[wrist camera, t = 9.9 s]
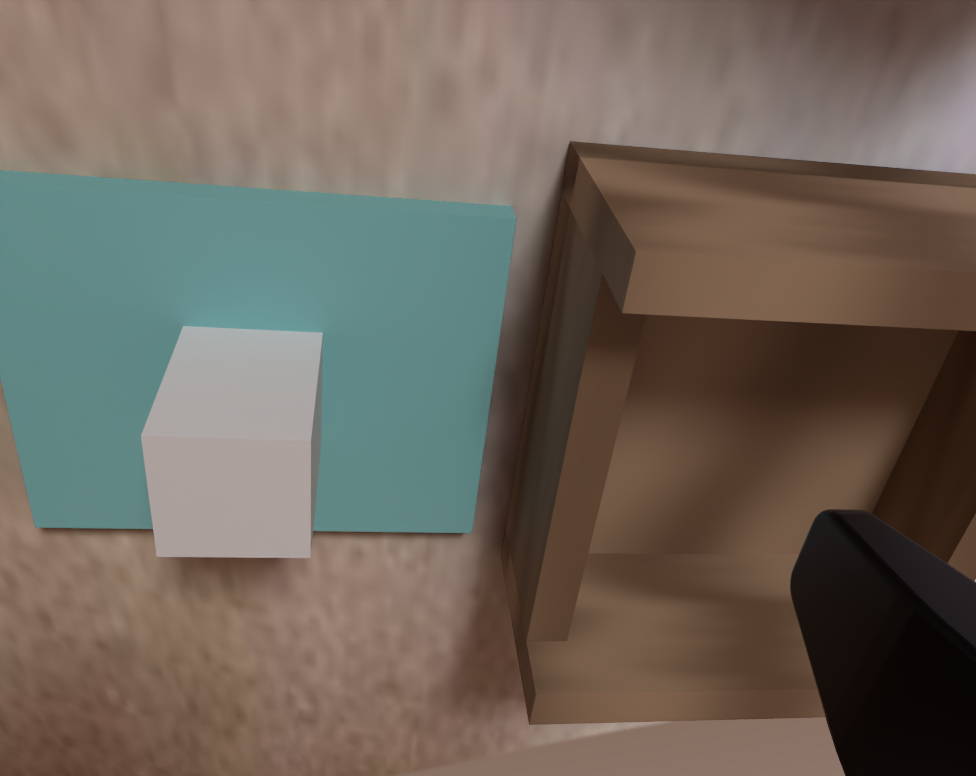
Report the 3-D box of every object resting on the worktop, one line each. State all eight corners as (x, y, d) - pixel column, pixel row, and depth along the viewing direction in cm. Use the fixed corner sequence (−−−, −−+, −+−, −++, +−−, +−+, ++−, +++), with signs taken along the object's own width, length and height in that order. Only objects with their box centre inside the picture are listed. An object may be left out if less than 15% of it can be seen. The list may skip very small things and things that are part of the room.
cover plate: (50, 495, 22) (-28, 658, 18) (-22, 158, 17) (-154, 271, 13) (468, 503, 24) (487, 653, 20) (509, 197, 19) (546, 309, 15)
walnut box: (500, 555, 24) (529, 724, 20) (570, 141, 18) (635, 251, 13) (854, 557, 26) (955, 713, 22) (1035, 179, 20) (1234, 288, 15)
